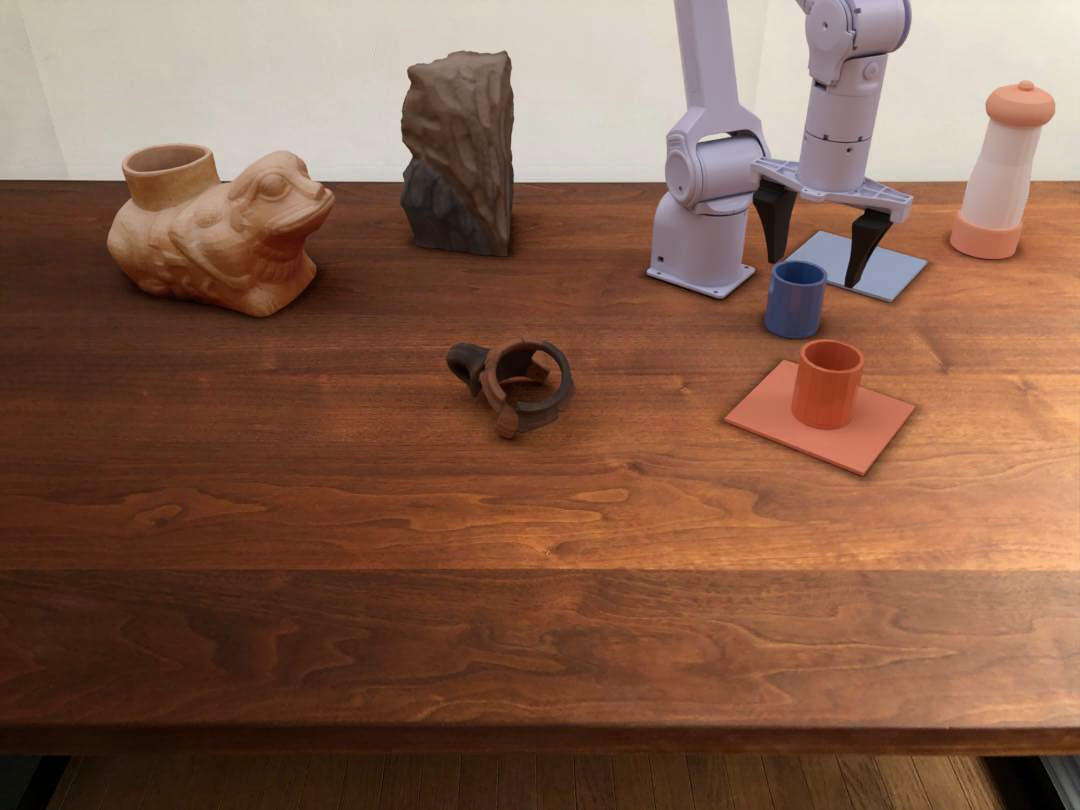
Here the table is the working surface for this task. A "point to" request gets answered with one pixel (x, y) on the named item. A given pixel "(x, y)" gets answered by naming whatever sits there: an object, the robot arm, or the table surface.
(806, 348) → the terracotta cup
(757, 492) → the table surface
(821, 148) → the robot arm
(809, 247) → the blue mat
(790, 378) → the coral mat
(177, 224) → the ceramic vessel
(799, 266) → the blue cup
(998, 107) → the salt shaker
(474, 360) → the dark brown ring-shaped piece
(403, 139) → the grey brown rock
